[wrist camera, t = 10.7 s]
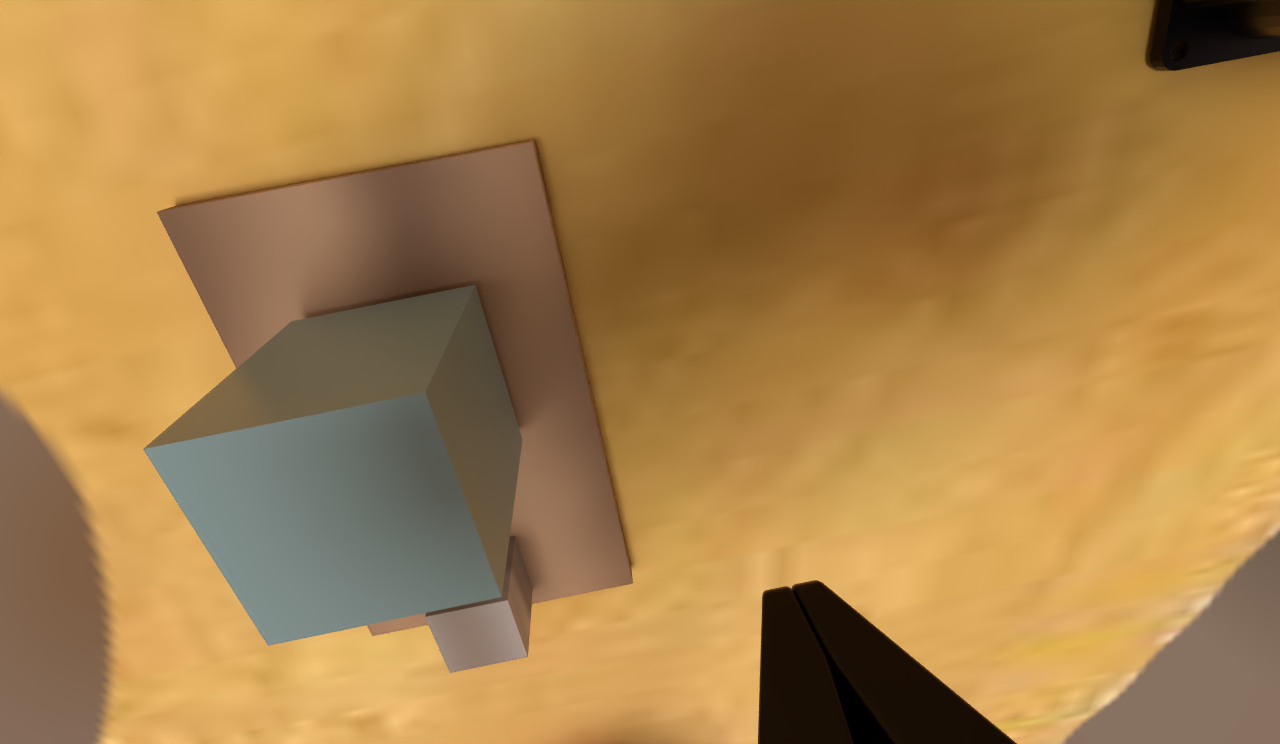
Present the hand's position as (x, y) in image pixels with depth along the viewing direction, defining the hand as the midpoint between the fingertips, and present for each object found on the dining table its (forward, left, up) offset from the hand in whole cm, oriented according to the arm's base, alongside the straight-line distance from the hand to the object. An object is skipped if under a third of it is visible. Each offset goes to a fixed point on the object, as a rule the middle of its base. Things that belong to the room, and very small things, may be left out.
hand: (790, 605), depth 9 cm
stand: (+8, +2, -12) cm, 15 cm away
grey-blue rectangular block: (+8, 0, -11) cm, 13 cm away
